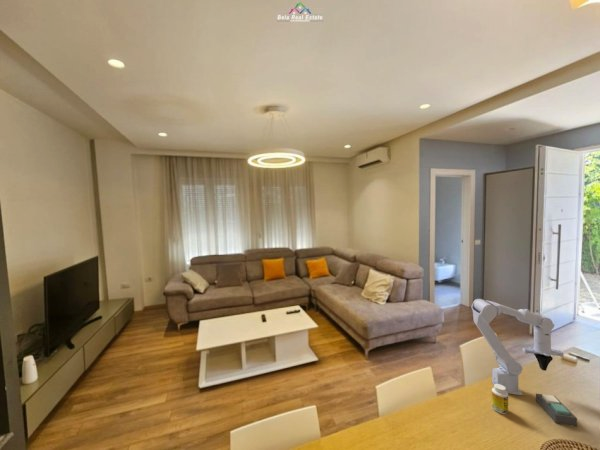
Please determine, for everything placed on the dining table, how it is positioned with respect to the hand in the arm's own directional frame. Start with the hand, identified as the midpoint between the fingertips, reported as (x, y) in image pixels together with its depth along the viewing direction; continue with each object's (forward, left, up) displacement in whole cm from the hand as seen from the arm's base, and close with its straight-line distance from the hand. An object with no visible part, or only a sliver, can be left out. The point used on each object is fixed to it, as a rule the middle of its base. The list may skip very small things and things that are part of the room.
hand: (542, 369), depth 118 cm
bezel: (-4, -15, -10) cm, 18 cm away
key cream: (-4, -12, -8) cm, 15 cm away
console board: (-4, -15, -10) cm, 18 cm away
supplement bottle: (-25, -18, -11) cm, 32 cm away
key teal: (-4, -17, -8) cm, 19 cm away
